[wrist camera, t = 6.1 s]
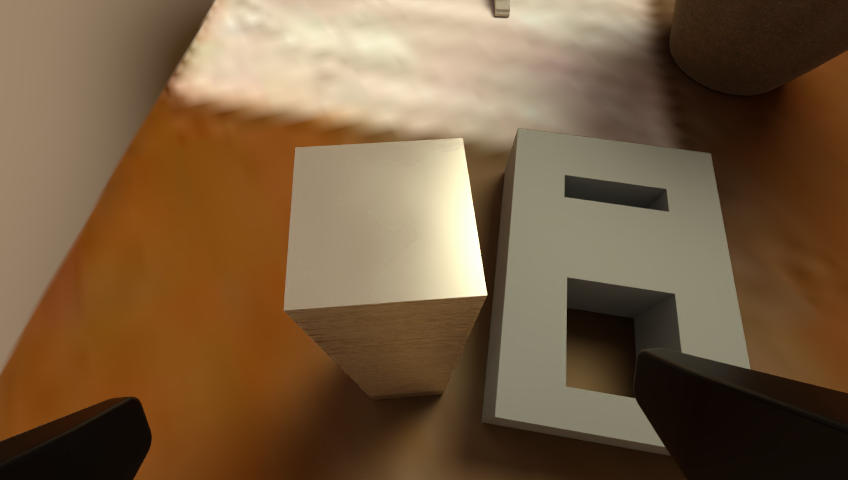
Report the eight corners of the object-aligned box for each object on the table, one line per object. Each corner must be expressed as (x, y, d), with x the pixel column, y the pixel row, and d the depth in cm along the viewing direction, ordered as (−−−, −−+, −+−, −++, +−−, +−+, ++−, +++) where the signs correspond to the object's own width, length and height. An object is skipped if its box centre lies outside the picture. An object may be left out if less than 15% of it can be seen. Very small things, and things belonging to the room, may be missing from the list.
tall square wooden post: (442, 394, 18) (487, 295, 6) (373, 400, 18) (284, 310, 6) (436, 325, 19) (462, 138, 7) (371, 330, 19) (295, 147, 7)
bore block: (702, 461, 17) (767, 465, 14) (481, 422, 17) (494, 417, 14) (670, 194, 22) (710, 153, 19) (504, 171, 23) (518, 128, 20)
